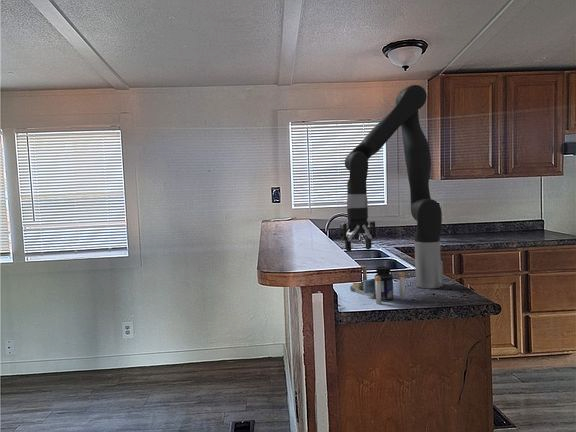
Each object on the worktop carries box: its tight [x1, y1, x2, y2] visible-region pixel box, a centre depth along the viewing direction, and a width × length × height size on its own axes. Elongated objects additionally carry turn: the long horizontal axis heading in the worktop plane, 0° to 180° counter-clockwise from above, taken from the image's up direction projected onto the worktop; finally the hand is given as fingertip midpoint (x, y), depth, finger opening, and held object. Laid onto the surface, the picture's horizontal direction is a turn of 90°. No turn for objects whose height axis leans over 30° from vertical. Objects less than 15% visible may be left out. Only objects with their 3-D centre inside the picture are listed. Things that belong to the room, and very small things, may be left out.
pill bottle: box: [374, 266, 395, 302], centre depth 154 cm, size 6×6×11 cm
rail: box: [349, 285, 376, 299], centre depth 164 cm, size 4×14×2 cm, turn 25°
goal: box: [374, 271, 406, 305], centre depth 151 cm, size 12×2×9 cm, turn 115°
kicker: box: [351, 264, 375, 293], centre depth 164 cm, size 8×11×8 cm
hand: (358, 250), depth 167 cm, fingers open, 8 cm apart
